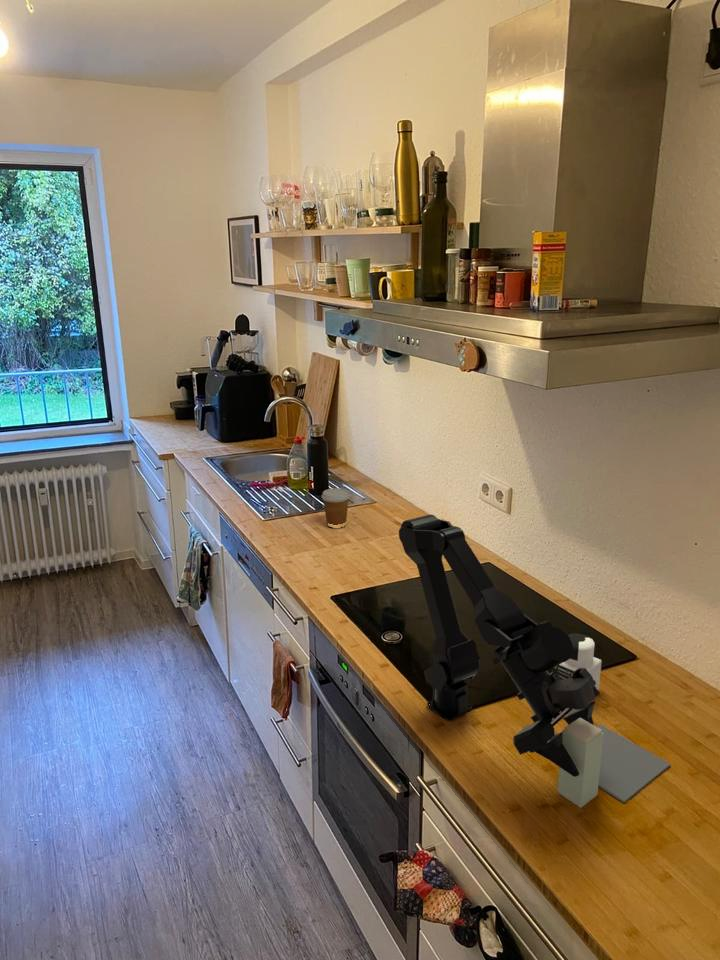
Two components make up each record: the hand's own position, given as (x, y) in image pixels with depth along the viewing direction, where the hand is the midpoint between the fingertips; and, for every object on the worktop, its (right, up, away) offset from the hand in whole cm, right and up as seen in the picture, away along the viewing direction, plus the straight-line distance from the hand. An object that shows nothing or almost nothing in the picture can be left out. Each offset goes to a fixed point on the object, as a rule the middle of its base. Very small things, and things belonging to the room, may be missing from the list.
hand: (588, 763), depth 111 cm
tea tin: (-1, -6, +3) cm, 7 cm away
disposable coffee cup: (-45, +30, +124) cm, 135 cm away
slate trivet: (+7, -4, +10) cm, 13 cm away
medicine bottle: (+7, +2, +31) cm, 31 cm away
